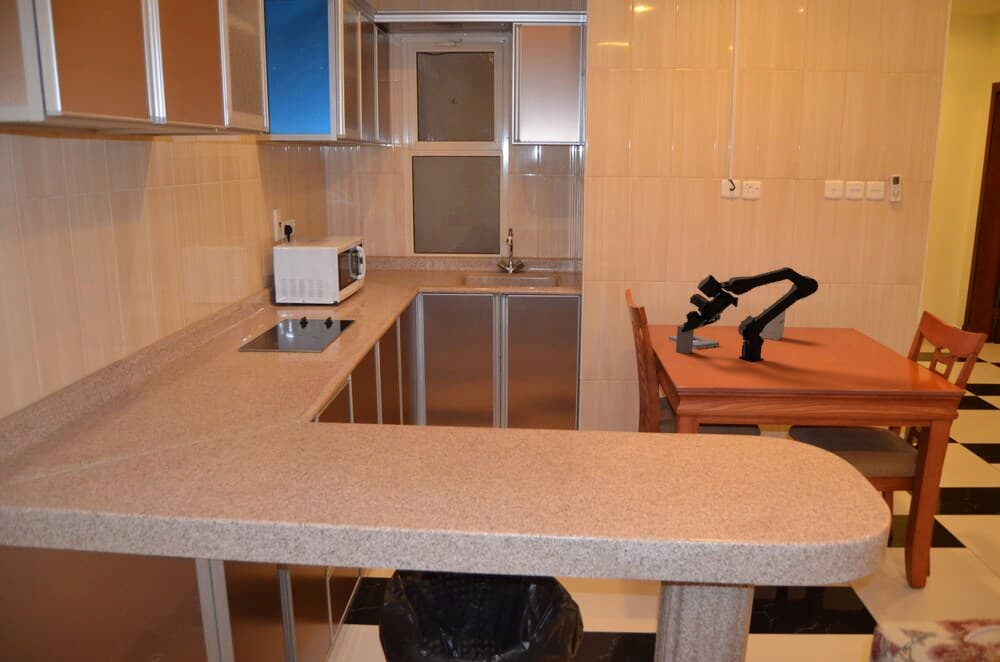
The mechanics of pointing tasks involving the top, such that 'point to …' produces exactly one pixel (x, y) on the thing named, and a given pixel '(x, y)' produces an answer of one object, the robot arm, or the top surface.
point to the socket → (698, 342)
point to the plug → (684, 340)
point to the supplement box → (774, 327)
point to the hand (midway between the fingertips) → (687, 329)
